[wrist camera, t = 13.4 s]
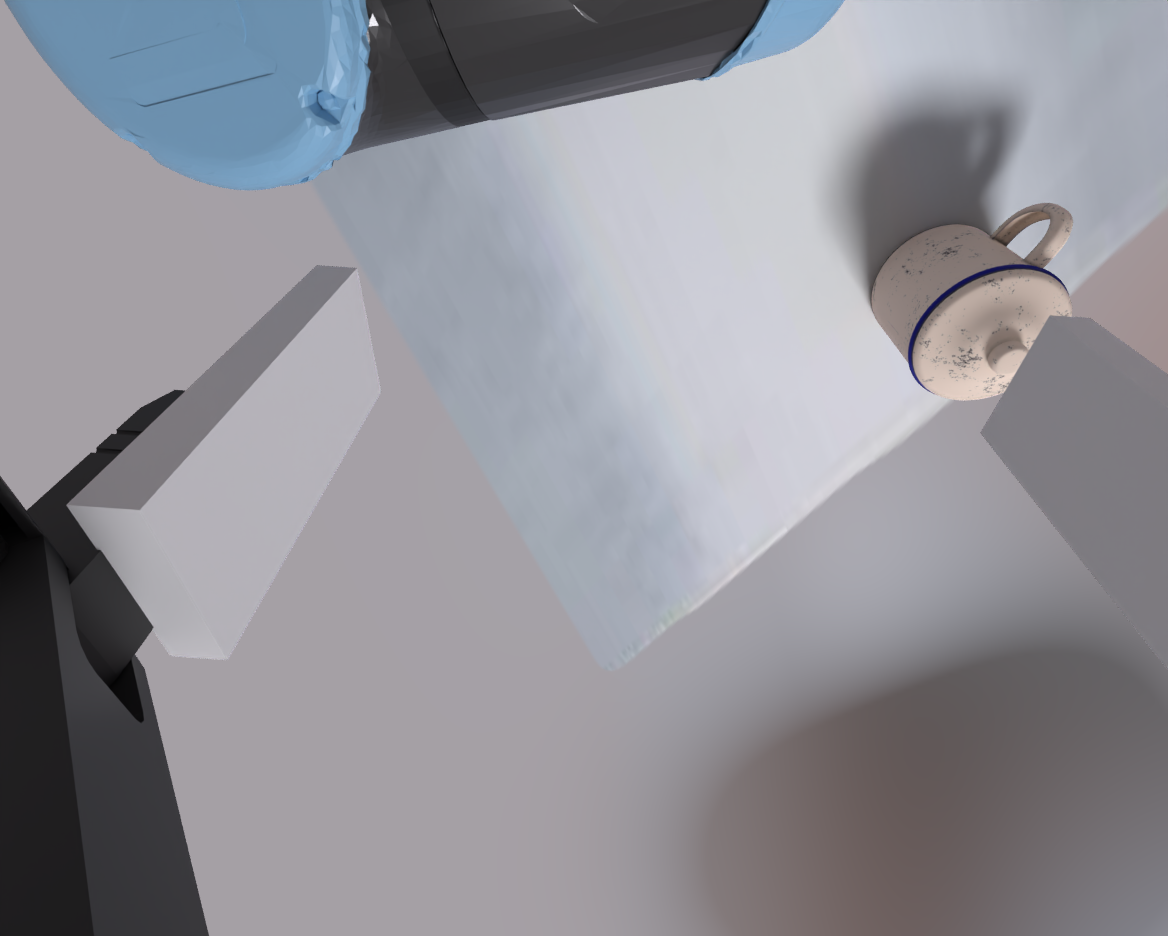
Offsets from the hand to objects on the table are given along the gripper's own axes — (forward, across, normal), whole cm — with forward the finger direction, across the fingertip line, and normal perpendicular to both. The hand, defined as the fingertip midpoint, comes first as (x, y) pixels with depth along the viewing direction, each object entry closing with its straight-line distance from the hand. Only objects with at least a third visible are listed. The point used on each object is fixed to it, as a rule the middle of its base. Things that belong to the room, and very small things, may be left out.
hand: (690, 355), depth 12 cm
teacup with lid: (+33, +23, -9) cm, 41 cm away
